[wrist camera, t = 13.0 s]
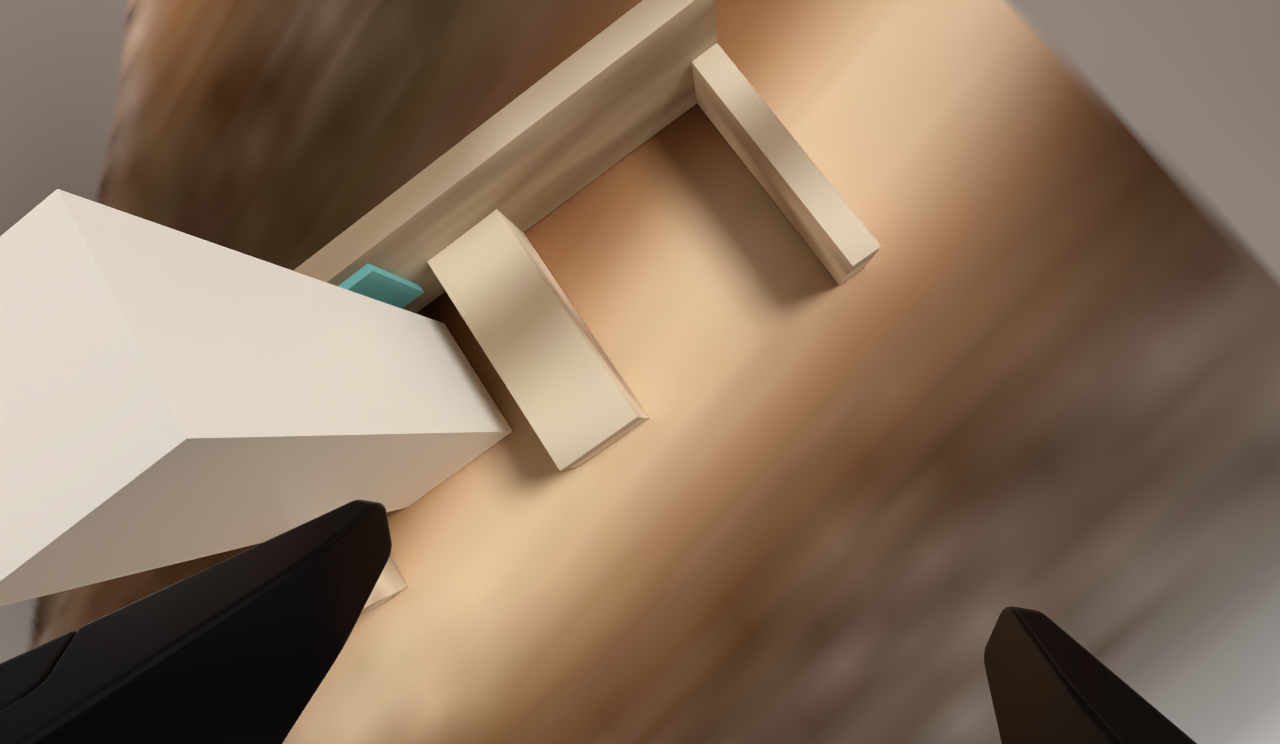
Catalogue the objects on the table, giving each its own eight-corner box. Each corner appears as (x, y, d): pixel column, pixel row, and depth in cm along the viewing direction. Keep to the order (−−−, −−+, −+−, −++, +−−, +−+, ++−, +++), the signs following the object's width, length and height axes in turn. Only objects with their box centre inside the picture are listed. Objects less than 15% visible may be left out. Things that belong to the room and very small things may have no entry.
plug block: (512, 431, 22) (186, 438, 9) (407, 507, 22) (-48, 618, 9) (444, 323, 23) (57, 188, 10) (343, 398, 23) (-153, 363, 10)
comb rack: (863, 268, 20) (904, 217, 15) (386, 601, 22) (283, 652, 17) (703, 66, 22) (693, -39, 17) (271, 392, 23) (147, 383, 19)
